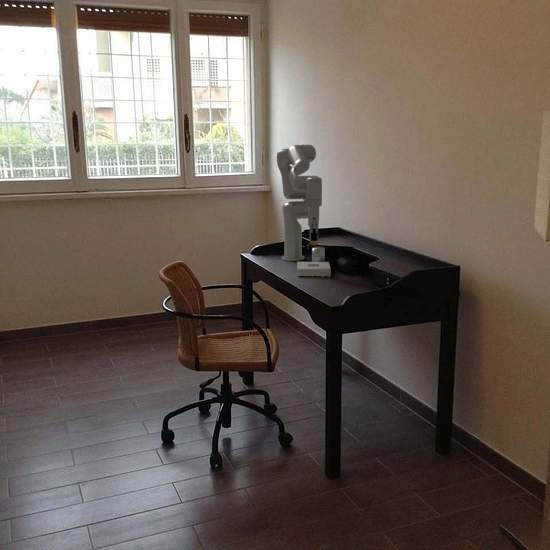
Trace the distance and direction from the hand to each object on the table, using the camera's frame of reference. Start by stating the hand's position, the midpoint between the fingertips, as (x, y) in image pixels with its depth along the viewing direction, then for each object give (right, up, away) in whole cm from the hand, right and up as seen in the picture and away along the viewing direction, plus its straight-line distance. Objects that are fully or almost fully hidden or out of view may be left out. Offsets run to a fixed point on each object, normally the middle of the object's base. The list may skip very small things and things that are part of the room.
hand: (313, 239), depth 311 cm
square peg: (0, -2, 0) cm, 2 cm away
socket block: (0, -16, +4) cm, 17 cm away
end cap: (+17, -16, +6) cm, 24 cm away
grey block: (+3, -13, +18) cm, 22 cm away
